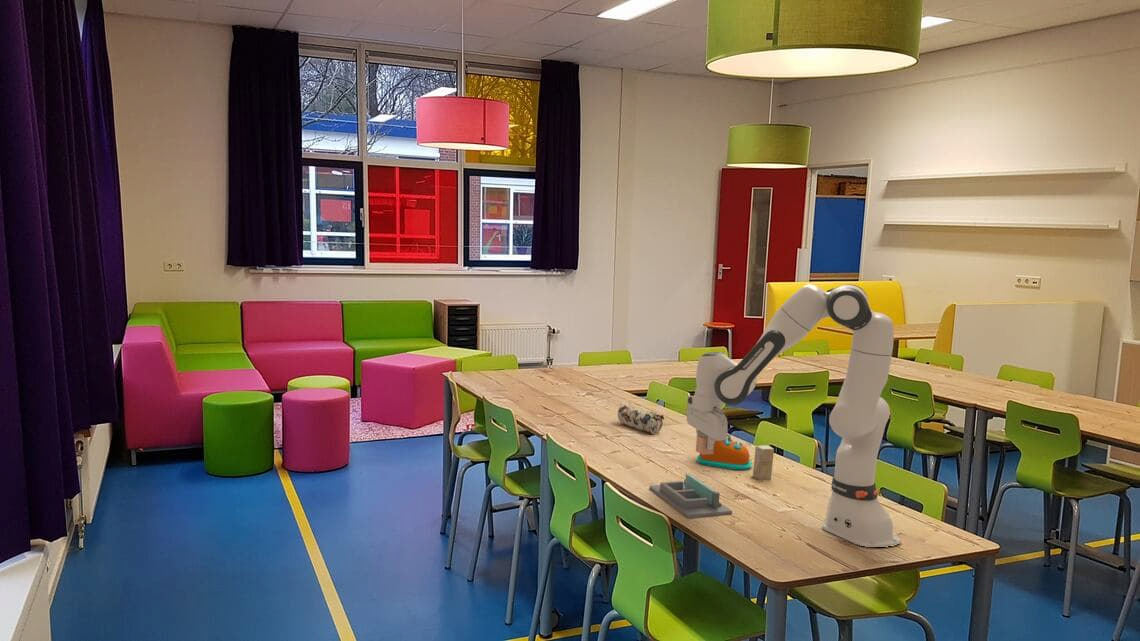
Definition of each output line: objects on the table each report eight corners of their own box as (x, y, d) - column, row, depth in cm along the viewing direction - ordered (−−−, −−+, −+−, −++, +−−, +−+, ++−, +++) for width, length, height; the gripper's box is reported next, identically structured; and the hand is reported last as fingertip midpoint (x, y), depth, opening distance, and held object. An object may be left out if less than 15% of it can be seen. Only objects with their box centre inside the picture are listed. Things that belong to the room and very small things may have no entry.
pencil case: (664, 433, 324) (666, 410, 322) (650, 436, 318) (651, 413, 317) (628, 421, 340) (629, 399, 339) (614, 424, 335) (615, 401, 334)
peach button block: (713, 454, 243) (714, 436, 243) (701, 454, 242) (703, 436, 241) (706, 450, 247) (708, 432, 246) (695, 450, 246) (697, 432, 245)
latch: (714, 505, 238) (716, 491, 238) (711, 505, 238) (712, 491, 237) (688, 486, 254) (689, 473, 254) (684, 486, 254) (685, 473, 253)
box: (758, 480, 269) (760, 448, 268) (752, 475, 273) (754, 445, 272) (771, 479, 270) (774, 448, 269) (765, 475, 275) (768, 444, 273)
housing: (731, 514, 236) (733, 495, 235) (687, 518, 230) (689, 499, 230) (690, 485, 260) (691, 468, 259) (649, 488, 255) (650, 471, 254)
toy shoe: (749, 472, 277) (752, 431, 275) (694, 464, 283) (697, 424, 281) (753, 463, 288) (756, 424, 286) (700, 455, 294) (702, 417, 293)
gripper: (734, 411, 234) (730, 456, 236) (701, 395, 253) (698, 436, 255) (716, 412, 232) (712, 457, 233) (684, 396, 251) (681, 437, 253)
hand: (704, 446), depth 244 cm, fingers closed on peach button block, 4 cm apart
